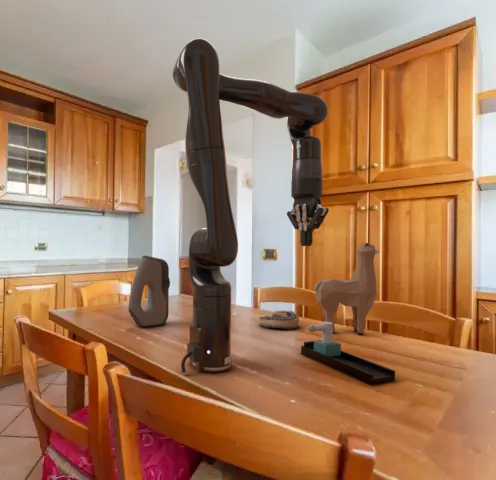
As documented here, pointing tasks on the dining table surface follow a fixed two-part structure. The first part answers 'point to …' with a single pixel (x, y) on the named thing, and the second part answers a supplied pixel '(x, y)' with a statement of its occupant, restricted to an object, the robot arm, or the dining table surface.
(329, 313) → the toy
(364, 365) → the rail
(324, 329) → the handle
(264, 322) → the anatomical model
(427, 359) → the dining table surface
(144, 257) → the brown holed slab
